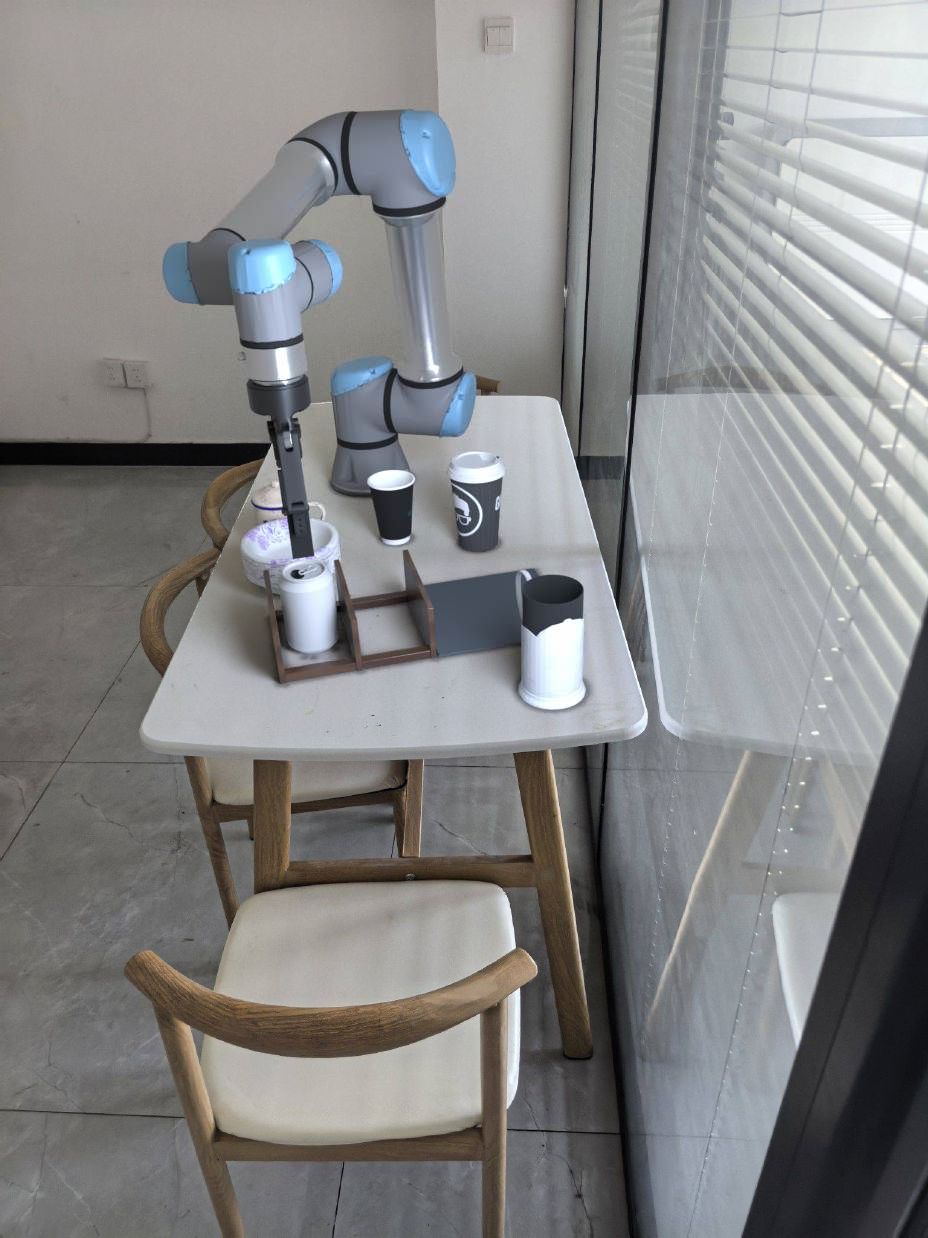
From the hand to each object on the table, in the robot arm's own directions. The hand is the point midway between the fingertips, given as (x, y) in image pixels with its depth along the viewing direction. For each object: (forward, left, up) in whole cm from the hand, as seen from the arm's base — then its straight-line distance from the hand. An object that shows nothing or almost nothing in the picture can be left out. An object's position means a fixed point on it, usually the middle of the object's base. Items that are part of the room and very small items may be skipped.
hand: (298, 534), depth 128 cm
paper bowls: (-19, -1, -17) cm, 26 cm away
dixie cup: (-29, +17, -17) cm, 38 cm away
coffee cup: (-23, +30, -17) cm, 42 cm away
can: (0, 0, -17) cm, 17 cm away
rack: (0, +5, -17) cm, 18 cm away
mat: (-1, +26, -17) cm, 31 cm away
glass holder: (+18, +28, -17) cm, 38 cm away
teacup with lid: (-33, 0, -17) cm, 37 cm away
